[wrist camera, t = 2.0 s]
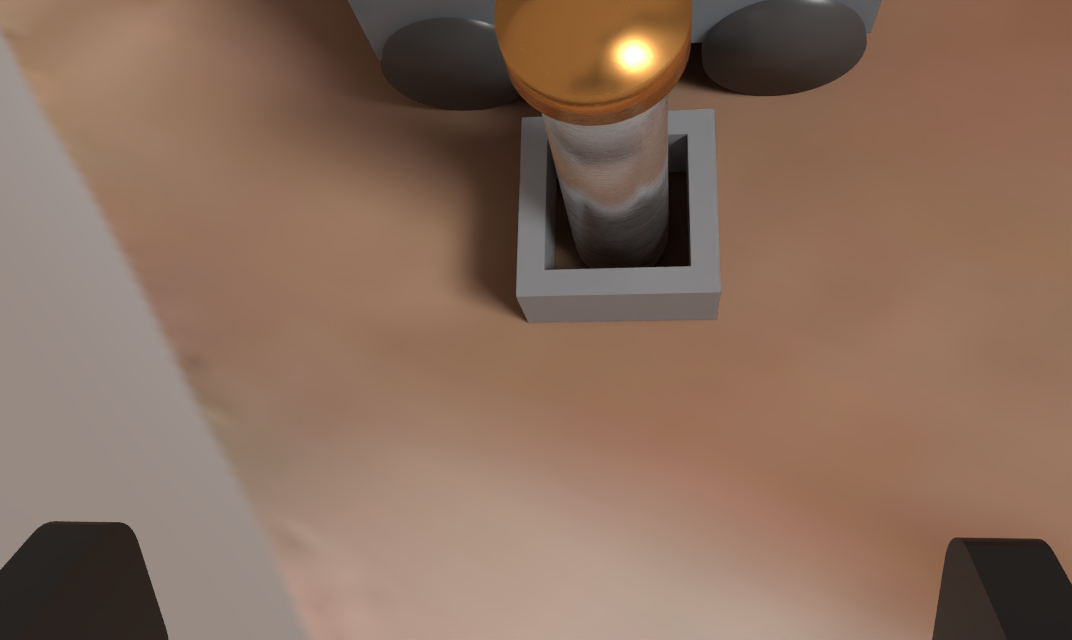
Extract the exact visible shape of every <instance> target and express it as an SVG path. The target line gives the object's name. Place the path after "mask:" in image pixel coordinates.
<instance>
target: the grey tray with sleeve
mask: <svg viewBox="0 0 1072 640" xmlns="http://www.w3.org/2000/svg"><path fill="white" fill-rule="evenodd" d="M348 2H349V4H350V6H351V8H352V10H353V12H354V14H355V16H356V18H357V20H358V22H359V24H360V26H361V28H362V29H363V31H364V33H365V35H366V37H367V39H368V41H369V43H370V45H371V47H372V49H373V51H374V53H375V55H376V57H377V59H378V60H382V62H381V65H382V71H383V73H384V76H385V77H386V79H387V80H388V81H389V83H390V84H391V85H392V86H393V87H394V88H396V89H397V90H398V91H400V92H401V93H402V94H404V95H406V96H408V97H410V98H411V99H414V100H416V101H418V102H421V103H424V104H427V105H431V106H435V107H439V108H445V109H452V110H480V109H487V108H493V107H497V106H500V105H503V104H506V103H509V102H511V101H513V100H515V99H517V98H518V97H520V96H521V95H520V94H519V93H518V91H517V90H516V89H515V87H514V85H513V84H512V82H511V80H510V78H509V75H508V72H507V69H506V66H505V63H504V59H503V56H502V53H501V49H500V46H499V42H498V39H497V36H496V30H495V25H494V11H495V3H496V0H348ZM880 3H881V0H692V28H691V43H700V42H702V64H703V67H704V70H705V72H706V73H707V75H708V76H709V77H710V78H711V79H712V80H713V81H714V82H716V83H717V84H719V85H720V86H722V87H724V88H727V89H729V90H732V91H735V92H738V93H743V94H749V95H758V96H777V95H787V94H794V93H799V92H804V91H807V90H811V89H814V88H817V87H820V86H823V85H825V84H827V83H830V82H832V81H834V80H835V79H837V78H839V77H841V76H842V75H844V74H845V73H847V72H848V71H849V70H850V69H852V68H853V67H854V66H855V65H856V64H857V63H858V62H859V60H860V59H861V57H862V56H863V54H864V51H865V48H866V44H867V43H866V33H871V30H872V27H873V24H874V21H875V18H876V15H877V12H878V9H879V6H880ZM668 172H686V178H687V216H688V255H689V266H683V267H642V268H602V269H561V270H555V227H556V176H557V172H556V168H555V164H554V160H553V156H552V152H551V148H550V144H549V140H548V136H547V132H546V129H545V125H544V121H543V117H522V125H521V157H520V188H519V219H518V250H517V281H516V298H517V300H518V302H519V304H520V306H521V308H522V310H523V313H524V315H525V317H526V319H527V321H528V323H536V322H594V321H652V320H709V319H717V314H718V308H719V301H720V294H721V285H720V257H719V229H718V202H717V174H716V146H715V119H714V109H695V110H673V111H668Z"/></svg>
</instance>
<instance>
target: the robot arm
mask: <svg viewBox="0 0 1072 640" xmlns="http://www.w3.org/2000/svg"><path fill="white" fill-rule="evenodd" d="M0 640H168V634H167V630H166V627H165V624H164V621H163V618H162V615H161V612H160V608H159V605H158V602H157V599H156V596H155V593H154V590H153V587H152V584H151V581H150V577H149V575H148V571H147V568H146V565H145V562H144V559H143V556H142V553H141V549H140V546H139V543H138V540H137V538H136V536H135V534H134V532H133V530H132V529H131V528H130V527H129V526H128V525H126V524H124V523H120V522H63V521H60V522H58V521H54V522H49V523H46V524H43V525H42V526H40V527H39V528H38V529H37V530H36V531H35V532H34V533H33V534H32V535H31V536H30V537H29V538H28V539H27V541H26V542H25V543H24V544H23V545H22V546H21V547H20V548H19V550H18V551H17V552H16V553H15V554H14V555H13V556H12V558H11V559H10V560H9V561H8V562H7V563H6V564H5V565H4V567H3V568H2V569H1V570H0ZM932 640H1072V584H1071V583H1070V581H1069V579H1068V577H1067V575H1066V574H1065V572H1064V570H1063V568H1062V566H1061V565H1060V563H1059V561H1058V559H1057V557H1056V556H1055V554H1054V552H1053V551H1052V549H1051V548H1050V546H1049V545H1048V544H1047V543H1046V542H1045V541H1043V540H1041V539H1015V538H953V539H952V540H951V541H950V543H949V545H948V548H947V551H946V556H945V561H944V568H943V574H942V580H941V587H940V593H939V600H938V606H937V612H936V619H935V625H934V631H933V638H932Z"/></svg>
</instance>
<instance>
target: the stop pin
mask: <svg viewBox="0 0 1072 640" xmlns="http://www.w3.org/2000/svg"><path fill="white" fill-rule="evenodd" d="M494 25H495V30H496V36H497V39H498V42H499V46H500V49H501V53H502V56H503V59H504V63H505V66H506V69H507V72H508V75H509V78H510V80H511V82H512V84H513V85H514V87H515V89H516V90H517V91H518V93H519V94H520V95H521V97H522V98H523V99H524V100H525V101H526V102H527V103H528V104H529V105H531V106H532V107H533V108H535V109H536V110H537V111H539V112H541V113H542V117H543V121H544V125H545V129H546V132H547V136H548V140H549V144H550V148H551V152H552V156H553V160H554V164H555V168H556V172H557V176H558V180H559V184H560V188H561V192H562V196H563V200H564V204H565V207H566V211H567V215H568V219H569V223H570V227H571V231H572V235H573V239H574V243H575V247H576V250H577V252H578V254H579V256H580V258H581V259H582V261H583V262H584V263H585V264H586V265H587V266H588V267H589V268H590V269H602V268H642V267H653V266H654V265H655V264H656V263H657V262H658V261H659V260H660V258H661V257H662V255H663V253H664V251H665V249H666V246H667V243H668V236H669V211H668V93H669V92H670V91H671V90H672V89H673V87H674V86H675V85H676V83H677V82H678V80H679V79H680V77H681V75H682V73H683V71H684V69H685V67H686V64H687V61H688V59H689V54H690V49H691V28H692V0H496V3H495V11H494Z"/></svg>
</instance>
